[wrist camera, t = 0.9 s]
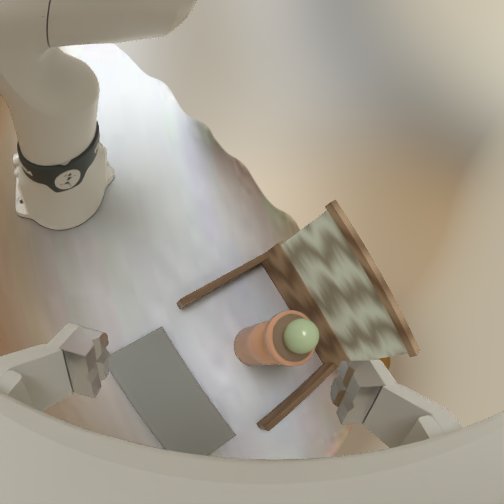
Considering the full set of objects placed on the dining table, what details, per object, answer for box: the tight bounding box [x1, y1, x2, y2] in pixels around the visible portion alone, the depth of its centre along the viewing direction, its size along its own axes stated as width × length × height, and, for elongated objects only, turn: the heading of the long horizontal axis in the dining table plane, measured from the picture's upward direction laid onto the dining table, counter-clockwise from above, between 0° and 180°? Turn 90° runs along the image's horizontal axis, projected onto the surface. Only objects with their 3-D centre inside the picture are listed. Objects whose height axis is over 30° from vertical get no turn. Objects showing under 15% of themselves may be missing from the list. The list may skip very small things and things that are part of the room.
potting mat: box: [110, 327, 236, 456], centre depth 36 cm, size 20×10×1 cm, turn 36°
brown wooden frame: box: [177, 200, 420, 431], centre depth 38 cm, size 24×18×20 cm
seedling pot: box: [234, 310, 319, 366], centre depth 39 cm, size 7×7×16 cm
